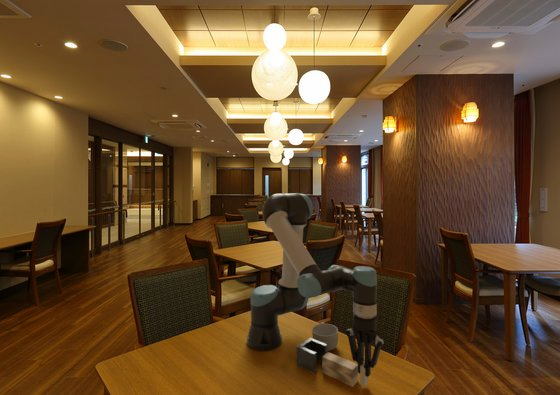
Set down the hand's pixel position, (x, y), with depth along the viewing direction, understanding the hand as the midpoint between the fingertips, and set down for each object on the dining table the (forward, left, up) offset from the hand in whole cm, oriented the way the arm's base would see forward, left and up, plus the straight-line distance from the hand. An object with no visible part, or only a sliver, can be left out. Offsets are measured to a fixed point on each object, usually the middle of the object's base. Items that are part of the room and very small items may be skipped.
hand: (364, 383), depth 99 cm
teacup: (-24, +14, -2) cm, 28 cm away
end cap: (-21, 0, -1) cm, 21 cm away
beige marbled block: (-9, 0, -1) cm, 9 cm away
